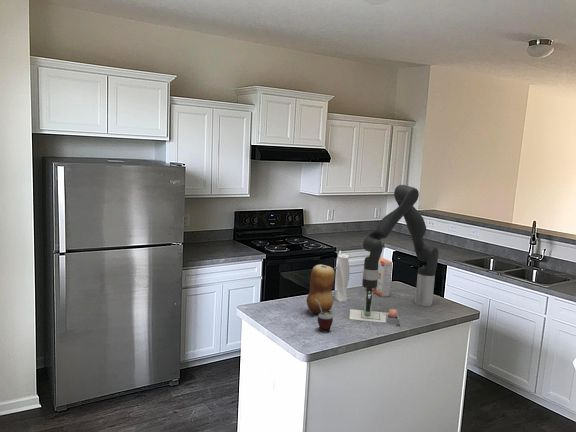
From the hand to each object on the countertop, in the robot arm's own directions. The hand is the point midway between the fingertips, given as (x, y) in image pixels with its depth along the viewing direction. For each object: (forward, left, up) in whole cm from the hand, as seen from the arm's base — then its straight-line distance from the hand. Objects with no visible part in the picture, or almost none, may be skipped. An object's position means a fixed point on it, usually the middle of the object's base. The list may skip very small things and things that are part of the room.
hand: (367, 310), depth 241 cm
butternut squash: (+2, -24, -4) cm, 25 cm away
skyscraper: (-21, -14, -4) cm, 26 cm away
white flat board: (+1, +3, -4) cm, 5 cm away
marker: (0, 0, -2) cm, 2 cm away
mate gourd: (+24, -20, -4) cm, 32 cm away
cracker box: (-42, +8, -4) cm, 43 cm away
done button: (+6, +12, 0) cm, 13 cm away
